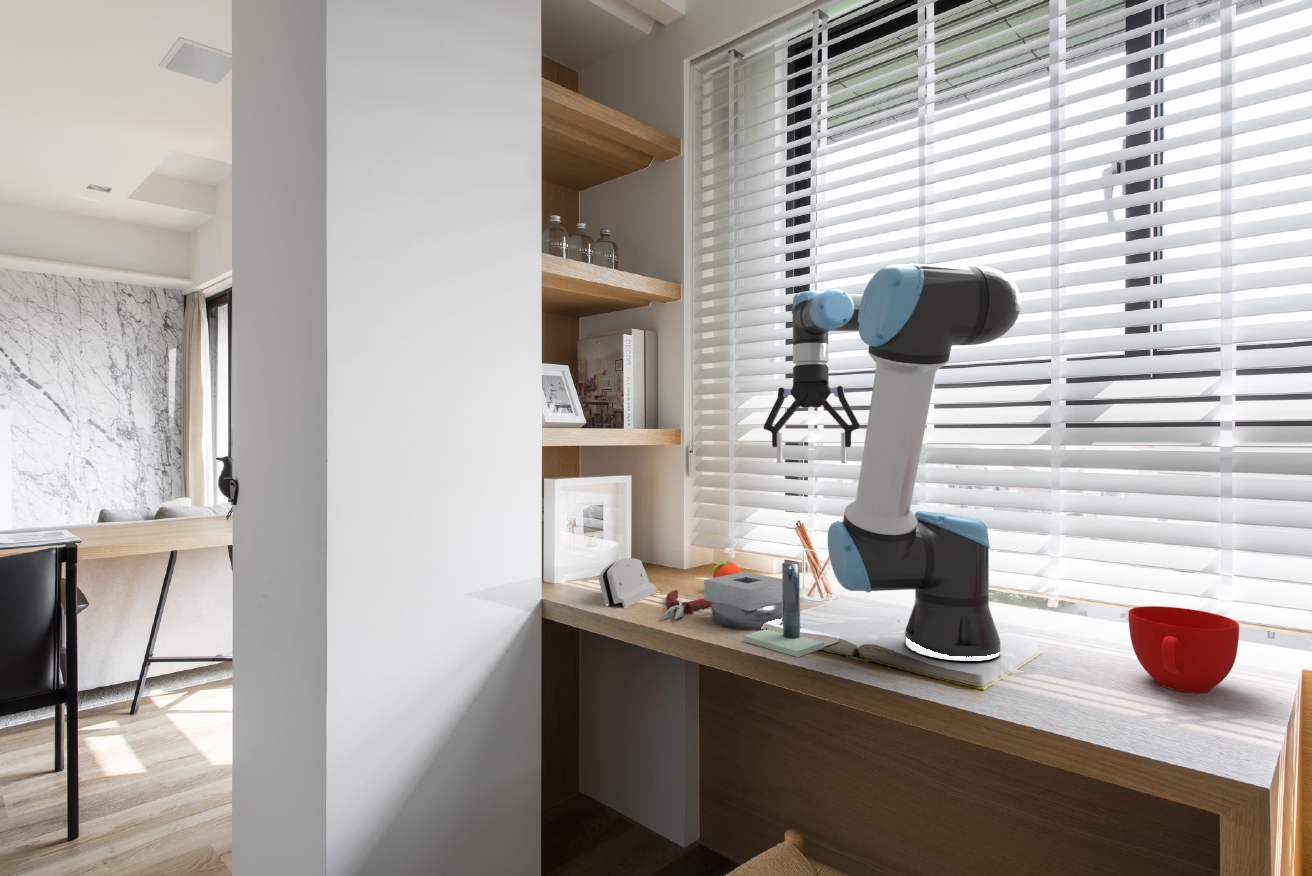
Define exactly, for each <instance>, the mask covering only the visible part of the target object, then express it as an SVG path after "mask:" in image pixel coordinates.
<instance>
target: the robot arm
mask: <svg viewBox="0 0 1312 876" xmlns="http://www.w3.org/2000/svg"><path fill="white" fill-rule="evenodd" d="M1018 288H1019V287H1017V285H1016V283H1015V282H1014V281H1013V279H1011V277H1009V276H1008V275H1006V274H1005V273H1004V272H1002V271H1000V270H998V269H995V268H993V267H989V266H984V265H977V264H976V265H970V264H969V265H956V264H955V265H954V264H953V265H952V264H923V263H922V264H921V263H911V262H910V263H908V264H907V263H906V264H892V265H886V266H884V267H882V268H880V269H879V270H878V271H877V272H875V273H874V275H873V277H871V279H870V280H869V281H868V283H867V284H866V286H865V289H864V291H863V293H851V292H850V293H847V292H845V291H843V290H841V289H835V288H834V289H829V290H825V291H822V290H821V291H820V290H808V291H807V290H806V291H801V292H798V293H796V294H795V295H793V298H792V307H791V314H792V364H795V366H793V367H792V387H791V388H784V387H779V388H778V391H777V398H776V400H775V402H774V404H773V406H772V408H771V410H770V413H768V415H767V419H766V420H765V422H764V425H763V429H764V430H765V431H768V432H770V433H771V445H772V448H776V463H777V464H778V463H780V464H781V463H783V432H779V431H781V429H782V428H783V427H784V426H785V424H786V423H788V421H789V419H790V418H791V417H792V416H793V415H794V414H795V412H796V411H797V410H798V409H799V408H800V407H801V408H804V409H810V408H815V409H816V408H818V409H819V408H820V407H823V408H824V409H825V410H826V411H827V412H828V413H829V415H830V416H832V418H833V420H835V421H836V422H837V423H838V425H839V426H840V427H841V428H842V429H843V430H844V431H843V432H842V431H841V432H840V443H841V444H840V445H841V447H840V451H841V452H840V454H841V456H840V457H841V458H840V459H841V460H840V461H841V464H846V463H847V448H851V446H852V432H853V431H856V430H858V429H860V427H861V426H860V423H859V421H858V420H857V418H856V415H855V414H854V412H853V409H852V408H851V406H850V404H849V402H848V400H847V398H846V396H845V389H844V387H843V386H841V385H838V386H836V387H835V386H834V387H830V385H829V381H830V380H829V378H830V377H829V366H828V363H829V332H858V334H859V337H860V339H861V341H862V342H863V343H864V344H866V345H868V351H867V352H868V355H869V356H870V357H871V359H872V361H874V362H875V364H876V366H875V374H874V378H873V379H874V380H873V385H872V393H871V400H870V406H869V412H868V419H867V426H866V432H865V437H864V438H865V440H864V445H863V450H862V451H863V452H862V458H861V465H860V471H859V477H858V478H859V479H858V484H857V488H856V489H857V491H856V497H855V500H854V501H852V502H850V503H849V504H847V505H846V506H845V509H844V513H843V514H844V515H843V520H842V521H840V520H839V521H838V520H837V521H834V522H832V523H831V524H830V525H829V527H828V530H827V549H828V556H829V561H830V565H831V568H832V571H833V574H834V577H835V578H836V580H837V581H838V583H839V584H840V586H841V587H843V589H845V590H847V591H850V592H865V593H871V592H880V591H881V592H882V591H883V592H884V591H905V590H906V591H907V590H911V591H912V590H915V592H914V593H915V595H914V596H915V599H914V600H915V601H914V604H913V607H912V609H911V612H910V616H909V619H908V622H907V624H906V627H905V631H904V637H905V636H906V637H907V638H908V639H910V640H911V641H912V642H915V643H916V644H919V645H920V646H922V647H924V648H926V649H930V650H932V651H934V652H938V653H941V654H947V655H949V656H966V657H967V656H968V657H969V656H971V657H972V656H987V655H991V654H996V653H998V652H1000V651H1001V639H1000V636H999V633H998V630H997V627H996V624H995V621H994V618H993V616H992V613H991V610H990V606H989V605H990V604H989V603H990V602H989V601H990V599H989V593H990V591H989V590H990V589H989V587H990V586H989V584H990V583H989V582H990V581H989V580H990V579H989V576H990V575H989V568H990V567H989V566H990V565H989V562H990V561H989V560H990V559H989V558H990V557H989V555H990V554H989V549H990V546H991V545H990V541H989V532H988V527H987V525H986V523H985V522H983V520H980V519H977V518H975V517H974V518H973V517H969V516H962V515H956V514H952V513H951V514H949V513H945V512H944V513H942V512H935V511H925V510H922V511H921V510H918V511H916V512H915V513H913V512H912V511H911V506H912V500H913V495H914V490H915V484H916V479H917V473H918V467H919V464H920V459H921V458H920V456H921V451H922V446H923V440H924V437H925V431H926V425H927V420H928V414H929V408H930V404H931V403H930V402H931V398H932V393H933V388H934V382H935V377H936V373H937V372H936V371H938V370H939V369H940V368H942V367H943V366H946V364H948V363H949V361H950V355H951V351H952V347H953V346H975V345H976V346H977V345H984V344H986V343H990V342H993V341H995V340H997V339H999V338H1001V337H1003V336H1004V335H1005V334H1006V333H1007V332H1009V331H1010V330H1011V328H1013V327H1014V325H1015V323H1016V321H1017V320H1018V319H1019V318H1018V317H1019V314H1020V312H1021V306H1022V302H1021V295H1020V291H1019V289H1018ZM831 394H833V395H834V397H836V398H838V399H839V402H840V405H841V406H842V408H843V410H844V412H845V414H846V415H847V417H848V419H849V422H850V423H851V424H850V425H849V424H848V423H847V422H846V421H845V419H843V417H842V415H840V414H839V413H838V412H837V411H836V409H835V408H834V407H833V406H832V404H830V402H828V400H827V399H828V398H829V397H830V395H831ZM789 395H791V396H792V398H793V399H794V401H793V402H792V404H790V406H789V407H788V408H787V410H786V411H785V412H784V414H783V415H782V416H781V417H780V418H779V420H778V421H777V422H776V423H775V424H774V422H775V420H776V418H777V416H778V414H779V412H780V410H781V408H782V406H783V403H784V401H785V399H788V398H789ZM773 424H774V425H773Z"/></svg>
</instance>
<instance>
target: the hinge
mask: <svg viewBox="0 0 1312 876" xmlns="http://www.w3.org/2000/svg"><path fill="white" fill-rule="evenodd" d="M598 581H599V585H600V590H601V593H602V599H603V603H604V605H605V604H608V605H610V604H612V605H616V604H620V603H622V606H623V607H622V608H624V607H626V606H628V605H629V604H632V603H634V602H637V601H639V600H640V599H643V600H645V599H646V598H645V597H647V598H649V597H651V596H652V595H651V594H653V595H654V594H657V593H658V591H657V587H656V585H655V584H653V583H652V582H650V579H649V577H648V575H647V572H646V569H645V567H644V564H643V562H642V560H641V559H638V558H622V559H619V560H615V561H613V562H612V563H610V564H608V565H607V566H606V567H604V568H603V569H602V570H601V572H600V573H599V575H598ZM656 592H657V593H656ZM650 595H651V596H650ZM644 598H645V599H644ZM639 602H640V601H639ZM613 603H614V604H613ZM637 603H638V602H637ZM610 606H611V605H610Z"/></svg>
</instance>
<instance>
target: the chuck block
mask: <svg viewBox="0 0 1312 876" xmlns="http://www.w3.org/2000/svg"><path fill="white" fill-rule="evenodd" d="M703 587H704V589H703V593H704V594H703V598H704V600H707V601H711V602H712V607H711V622H712V623H713V622H714V624H715V625H716V626H719V627H721V628H726V629H732V630H741V631H761V630H760V629H761V627H762V626H763V624H764V623H766V622H768V621H772V620H775V619H781V618H783V591H782V578H779V577H774V576H769V575H763V574H758V573H753V572H748V571H741V572H740V573H735V574H730V575H725V576H721V577H716V578H713V577H711V578H706V579H703Z"/></svg>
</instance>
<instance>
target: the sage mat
mask: <svg viewBox="0 0 1312 876" xmlns="http://www.w3.org/2000/svg"><path fill="white" fill-rule="evenodd" d="M743 642H744V643H749V644H752V645H755V646H759V647H762V648H766V649H768V650H773V651H774V652H775V651H776V652H779V653H782V654H786V655H789V656H792V657H795V658H800V657H802V656H805V655H807V654H811V653H814V652H818V651H819V650H820V651H821V650H822V649H825V648H824V642H821V641H817V640H812V639H808V638H804V637H800V638H796V639H789V638H785V637H783V633H779V632H775V631H771V630H766V629H763V630H757V631H756V632H751V633H749V634H745V635H743Z"/></svg>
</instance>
